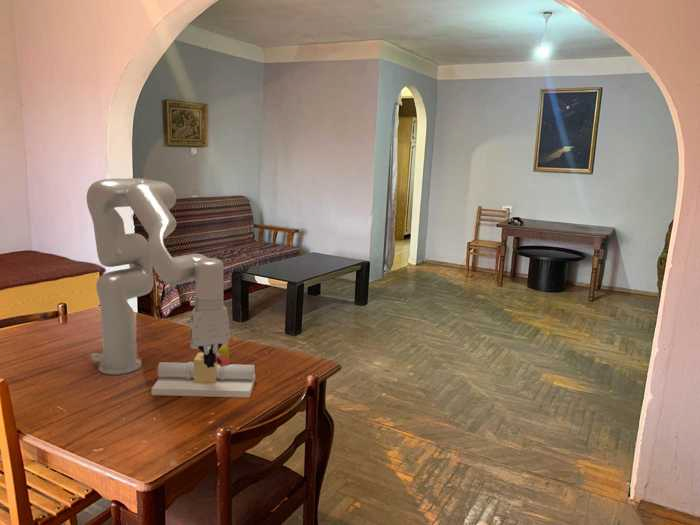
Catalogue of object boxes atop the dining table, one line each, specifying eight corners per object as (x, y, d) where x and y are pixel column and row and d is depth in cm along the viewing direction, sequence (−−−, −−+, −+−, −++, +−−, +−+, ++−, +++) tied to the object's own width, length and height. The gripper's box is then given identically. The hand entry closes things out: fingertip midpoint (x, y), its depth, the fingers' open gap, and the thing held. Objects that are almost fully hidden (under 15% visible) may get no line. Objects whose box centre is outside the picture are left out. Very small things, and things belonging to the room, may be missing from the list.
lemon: (225, 368, 175) (225, 345, 174) (209, 366, 176) (209, 343, 175) (232, 362, 181) (232, 339, 179) (216, 360, 182) (216, 337, 180)
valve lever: (200, 350, 161) (199, 344, 160) (209, 348, 163) (209, 343, 162) (220, 367, 150) (220, 360, 149) (230, 364, 151) (230, 358, 151)
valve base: (151, 395, 154) (150, 360, 152) (164, 377, 166) (163, 345, 164) (249, 397, 156) (249, 363, 153) (255, 380, 167) (255, 348, 165)
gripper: (184, 309, 141) (185, 375, 145) (240, 304, 148) (239, 366, 152) (178, 302, 147) (179, 365, 151) (231, 297, 154) (231, 357, 158)
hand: (209, 365), depth 151 cm, fingers closed
